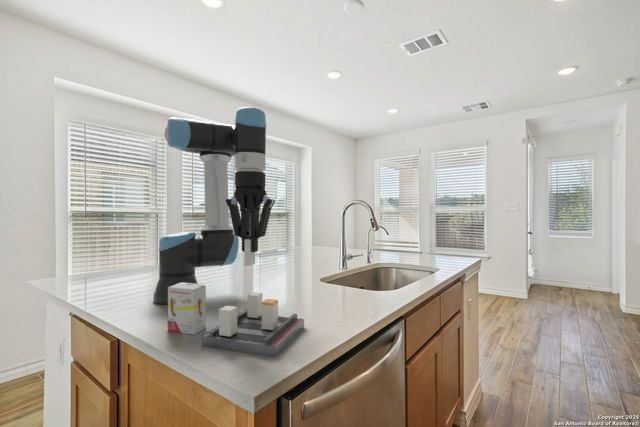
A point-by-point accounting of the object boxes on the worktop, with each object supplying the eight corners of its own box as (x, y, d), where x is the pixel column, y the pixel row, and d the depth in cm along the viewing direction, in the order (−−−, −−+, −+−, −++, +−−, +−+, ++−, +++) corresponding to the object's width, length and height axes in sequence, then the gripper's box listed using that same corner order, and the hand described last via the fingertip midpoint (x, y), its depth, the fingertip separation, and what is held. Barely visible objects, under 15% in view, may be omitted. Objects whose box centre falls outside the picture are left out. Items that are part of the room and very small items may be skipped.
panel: (201, 345, 74) (201, 330, 74) (242, 319, 91) (242, 307, 91) (276, 357, 69) (276, 341, 69) (304, 327, 86) (304, 314, 86)
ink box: (166, 331, 83) (166, 286, 83) (180, 324, 87) (180, 281, 87) (193, 335, 80) (193, 288, 80) (206, 328, 85) (206, 284, 85)
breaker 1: (219, 335, 74) (219, 309, 74) (226, 330, 77) (226, 305, 77) (230, 336, 73) (230, 310, 73) (237, 331, 76) (237, 306, 76)
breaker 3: (261, 328, 78) (261, 302, 78) (267, 324, 81) (267, 298, 81) (272, 330, 77) (272, 303, 77) (277, 325, 80) (278, 299, 80)
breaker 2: (247, 316, 86) (247, 294, 86) (252, 313, 89) (252, 292, 89) (257, 318, 86) (257, 295, 85) (262, 314, 88) (262, 293, 88)
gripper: (219, 170, 78) (218, 265, 79) (267, 169, 74) (266, 269, 75) (235, 173, 85) (235, 260, 86) (280, 172, 82) (279, 263, 82)
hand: (249, 264), depth 80 cm, fingers closed
